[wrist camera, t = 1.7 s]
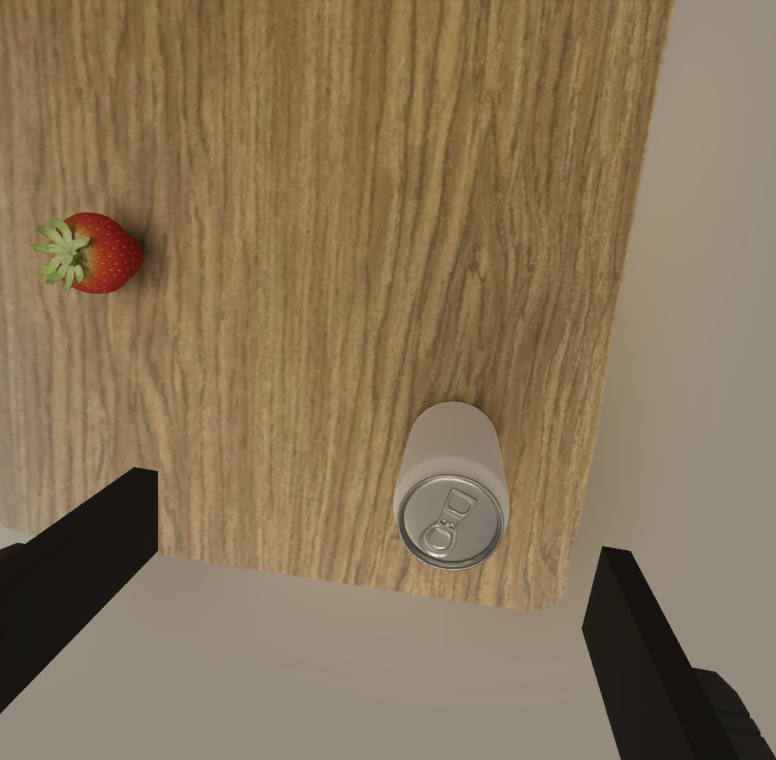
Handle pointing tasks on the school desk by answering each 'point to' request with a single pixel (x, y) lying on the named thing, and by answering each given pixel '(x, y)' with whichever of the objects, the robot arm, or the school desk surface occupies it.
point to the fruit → (89, 253)
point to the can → (451, 488)
